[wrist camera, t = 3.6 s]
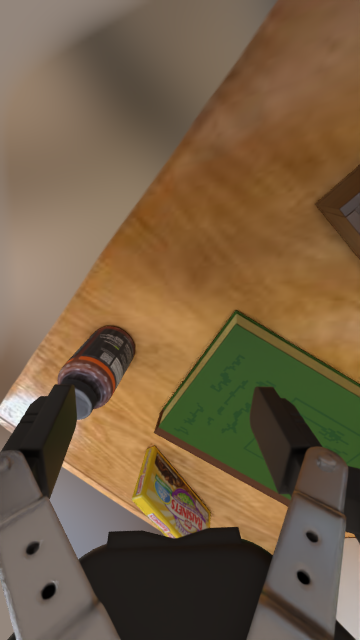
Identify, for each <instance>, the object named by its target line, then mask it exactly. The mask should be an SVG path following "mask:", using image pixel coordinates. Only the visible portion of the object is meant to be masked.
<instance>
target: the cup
mask: <svg viewBox="0 0 360 640" xmlns="http://www.w3.org/2000/svg"><path fill="white" fill-rule="evenodd" d="M336 620H337V621H338V622H339V623H340V624H341V625H342V626H343V627H344V628H345V629H346V630H347V631H348V632H349V633H350V634H351V635H352V636H353V637H354V638H355V639H356V640H360V544H359V542H358V540H357V538H345V539H344V548H343V557H342V567H341V576H340V585H339V594H338V604H337V613H336Z"/></svg>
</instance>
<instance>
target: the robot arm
mask: <svg viewBox="0 0 360 640" xmlns="http://www.w3.org/2000/svg"><path fill="white" fill-rule="evenodd" d="M76 422H77V408H76V396H75V387H74V385H68V384H55V385H54V386H53V388H52V390H51V392H50V394H49V395H48V396H41V397H39V398H38V399H37V400H35V401H34V402H33V403H32V404H30V406H29V408H28V409H27V411H26V412H25V415H24V416H23V417H22V419H21V420H20V423H19V424H18V425H17V427H16V428H15V430H14V432H13V433H12V435H11V436H10V438H9V440H8V441H7V443H6V444H5V446H4V448H3V449H2V451H1V452H0V579H1V583H2V587H3V591H4V594H5V598H6V602H7V606H8V609H9V614H10V617H11V621H12V625H13V629H14V633H13V634H12V635H11V636H10V637H9V639H8V640H356V639H355V638H354V637H353V636H352V635H351V634H350V633H349V632H348V631H347V630H346V629H345V628H344V627H343V626H342V625H341V624H340V623H339V622H338V621H337V620H336V613H337V604H338V594H339V585H340V576H341V567H342V557H343V548H344V539H345V531H346V532H349V533H352V534H354V535H355V536H356V538H357V540H358V542H359V544H360V469H358V468H354V467H351V466H347V464H346V462H345V461H344V460H343V458H342V457H340V456H339V455H338V454H337V453H335V452H334V451H332V450H330V449H327V448H324V447H322V445H321V444H320V442H319V441H318V439H317V438H316V436H315V435H314V433H313V432H312V430H311V429H310V428H309V426H308V425H307V423H305V420H304V419H303V417H302V416H300V413H299V411H298V410H297V408H296V407H295V405H293V404H292V403H291V402H289V401H288V400H287V399H286V398H280V396H279V395H278V393H277V392H276V390H275V389H274V387H255V389H254V394H253V399H252V405H251V410H250V426H251V429H252V432H253V434H254V436H255V439H256V441H257V443H258V446H259V448H260V451H261V453H262V455H263V458H264V460H265V463H266V465H267V467H268V470H269V472H270V474H271V477H272V479H273V482H274V484H275V486H276V489H277V491H278V494H290V496H291V500H290V503H289V507H288V510H287V513H286V516H285V519H284V523H283V526H282V529H281V532H280V535H279V538H278V542H277V545H276V548H275V551H274V554H273V555H271V554H270V553H269V552H268V551H266V550H265V549H263V548H262V547H260V546H258V545H256V544H254V543H252V542H250V541H247V540H244V539H241V536H240V532H239V528H238V527H224V528H206V529H203V530H200V531H197V532H194V533H191V534H188V535H185V536H182V537H179V538H170V537H166V536H161V535H158V534H154V533H150V532H145V531H117V532H116V531H115V532H109V534H108V541H107V544H105V545H102V546H100V547H98V548H95V549H93V550H92V551H90V552H88V553H87V554H85V555H84V556H82V557H81V558H80V559H78V558H77V556H76V554H75V552H74V550H73V548H72V546H71V544H70V542H69V539H68V537H67V535H66V533H65V531H64V529H63V527H62V525H61V523H60V521H59V519H58V517H57V515H56V513H55V511H54V508H53V506H52V504H51V502H50V500H49V499H50V497H51V494H52V491H53V488H54V486H55V483H56V480H57V477H58V475H59V472H60V469H61V466H62V464H63V461H64V458H65V455H66V452H67V450H68V447H69V444H70V441H71V439H72V436H73V433H74V430H75V427H76Z"/></svg>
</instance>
